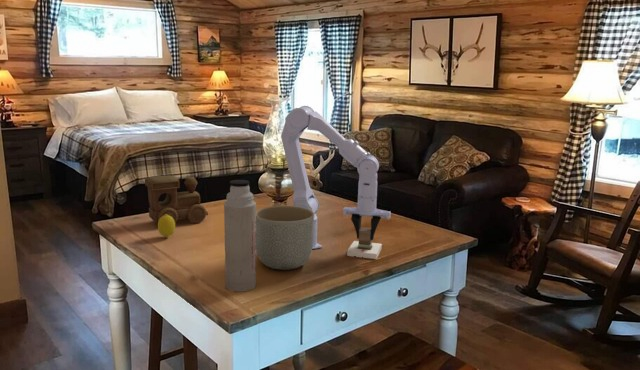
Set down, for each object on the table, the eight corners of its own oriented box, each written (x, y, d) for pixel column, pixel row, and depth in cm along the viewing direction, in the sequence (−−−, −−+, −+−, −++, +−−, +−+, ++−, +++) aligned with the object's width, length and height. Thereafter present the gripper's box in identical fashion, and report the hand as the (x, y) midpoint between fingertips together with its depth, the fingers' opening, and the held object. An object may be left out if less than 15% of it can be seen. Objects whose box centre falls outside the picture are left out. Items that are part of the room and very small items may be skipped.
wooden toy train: (153, 230, 188) (151, 182, 184) (145, 221, 197) (143, 176, 194) (209, 222, 198) (208, 177, 194) (199, 214, 207) (198, 171, 204)
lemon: (154, 238, 179) (153, 214, 177) (166, 234, 184) (165, 211, 182) (167, 241, 177) (166, 217, 175) (179, 236, 181) (178, 213, 180)
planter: (282, 250, 171) (283, 202, 168) (324, 263, 161) (326, 213, 158) (242, 264, 159) (242, 213, 155) (285, 280, 148) (286, 225, 145)
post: (369, 250, 169) (370, 231, 168) (358, 249, 170) (358, 230, 168) (371, 246, 172) (372, 228, 171) (360, 245, 173) (361, 227, 172)
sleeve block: (376, 259, 166) (376, 253, 165) (347, 255, 168) (347, 250, 167) (381, 248, 175) (381, 243, 175) (353, 245, 177) (354, 240, 177)
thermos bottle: (259, 281, 147) (260, 178, 141) (250, 293, 139) (250, 185, 133) (231, 278, 149) (230, 176, 142) (220, 289, 141) (218, 183, 135)
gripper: (392, 195, 169) (390, 237, 172) (346, 191, 173) (345, 232, 176) (389, 200, 163) (387, 244, 166) (341, 196, 166) (340, 239, 169)
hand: (365, 238), depth 170 cm, fingers closed on post, 3 cm apart
